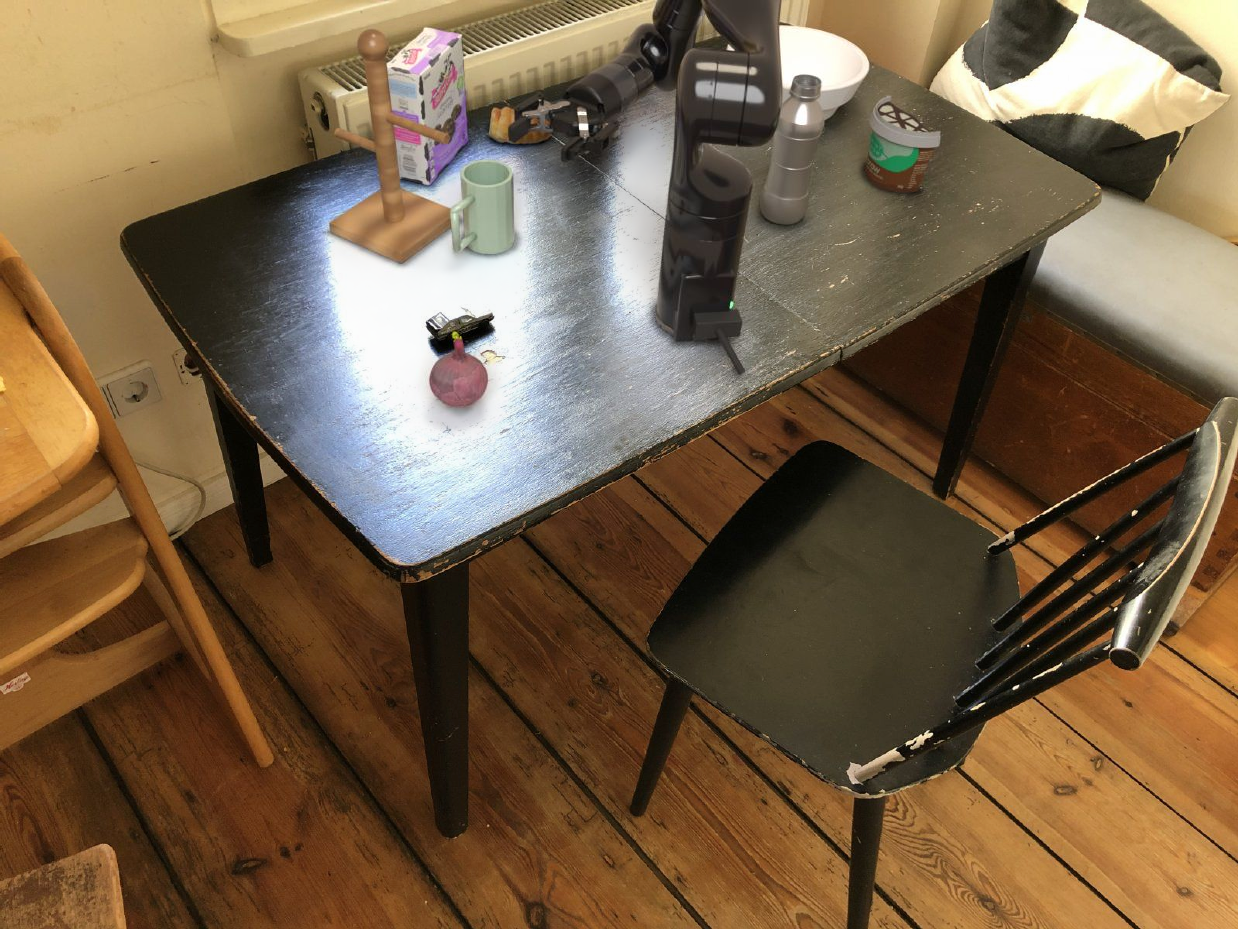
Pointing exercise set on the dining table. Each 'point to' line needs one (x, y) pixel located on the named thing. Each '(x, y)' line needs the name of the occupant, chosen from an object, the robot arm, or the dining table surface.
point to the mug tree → (389, 173)
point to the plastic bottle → (793, 152)
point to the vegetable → (458, 377)
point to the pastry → (506, 117)
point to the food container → (898, 148)
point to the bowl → (821, 64)
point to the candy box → (429, 102)
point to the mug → (485, 208)
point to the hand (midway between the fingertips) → (536, 145)
